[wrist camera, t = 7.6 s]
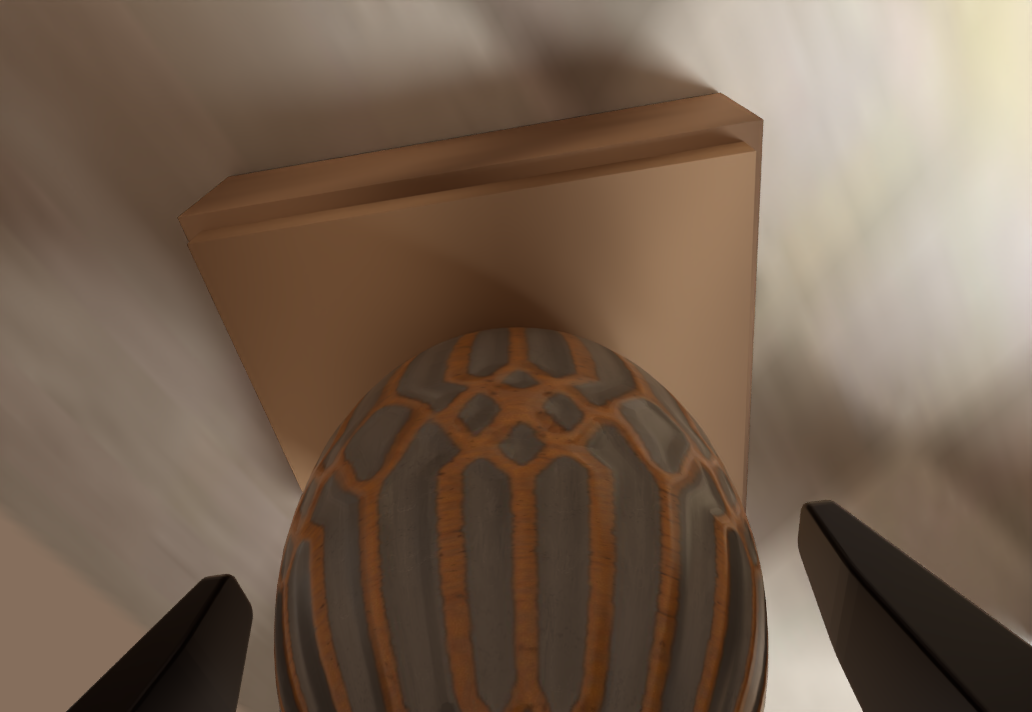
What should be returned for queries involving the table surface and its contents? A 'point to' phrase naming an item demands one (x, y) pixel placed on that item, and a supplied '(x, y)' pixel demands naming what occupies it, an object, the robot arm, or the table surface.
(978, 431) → the table surface
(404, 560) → the vase
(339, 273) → the plinth
